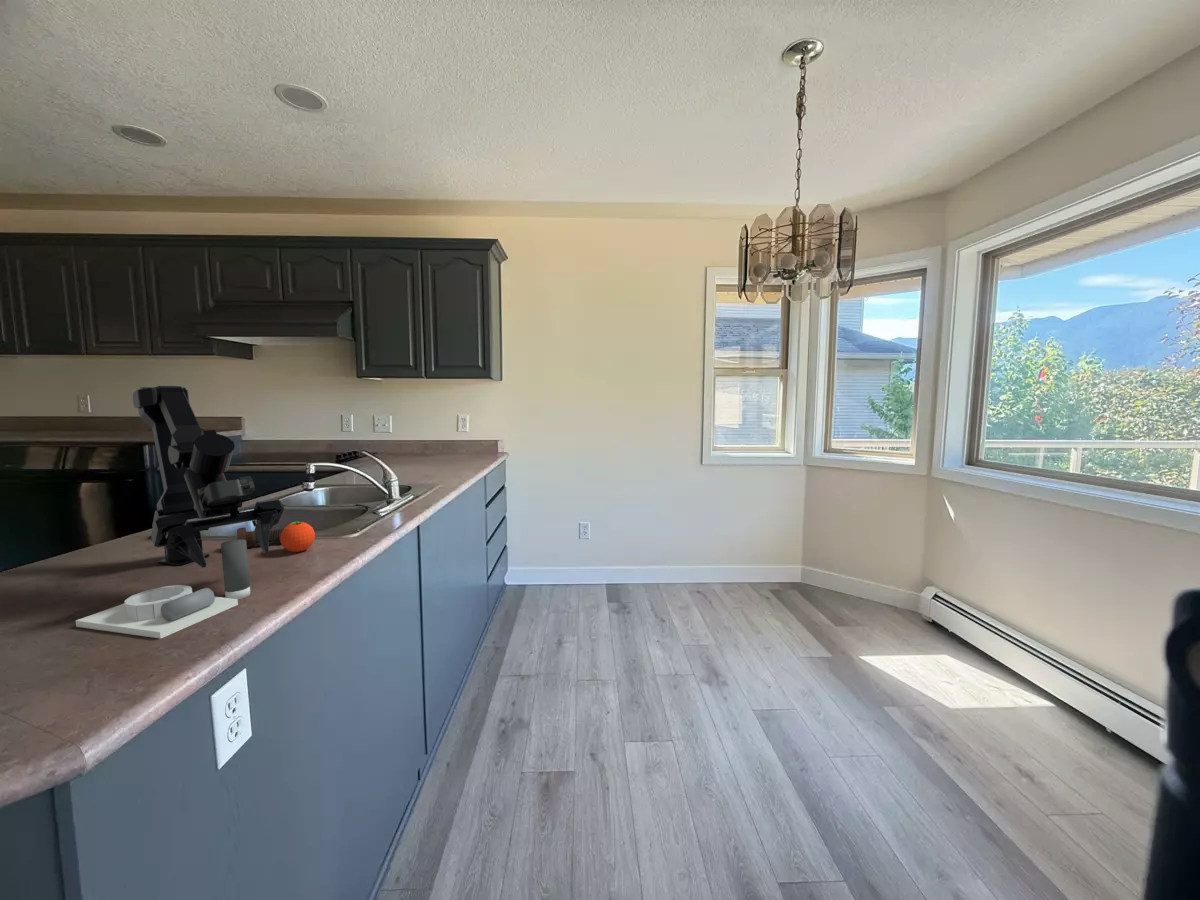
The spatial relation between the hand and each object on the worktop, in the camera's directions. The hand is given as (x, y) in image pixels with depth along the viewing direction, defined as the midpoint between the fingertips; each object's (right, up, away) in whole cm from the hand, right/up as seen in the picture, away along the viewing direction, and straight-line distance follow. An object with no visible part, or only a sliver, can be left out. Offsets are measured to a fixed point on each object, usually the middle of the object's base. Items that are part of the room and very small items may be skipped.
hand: (236, 558), depth 84 cm
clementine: (-6, -5, +27) cm, 28 cm away
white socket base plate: (-8, -8, -6) cm, 13 cm away
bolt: (-15, -4, +32) cm, 36 cm away
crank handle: (-1, -7, +1) cm, 7 cm away
